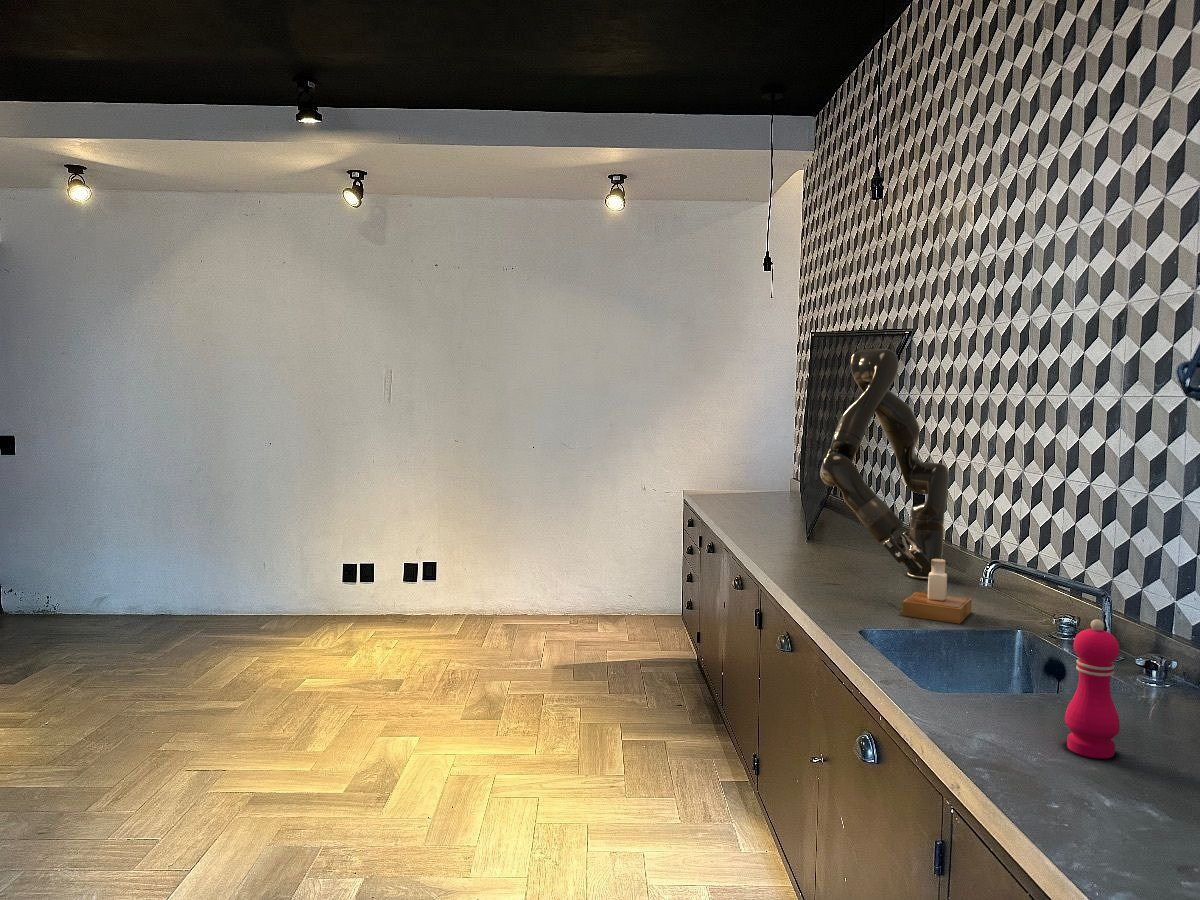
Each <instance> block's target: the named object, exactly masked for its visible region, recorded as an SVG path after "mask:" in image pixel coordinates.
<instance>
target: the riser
mask: <svg viewBox="0 0 1200 900" xmlns="http://www.w3.org/2000/svg"><path fill="white" fill-rule="evenodd" d="M971 613H972V598H971V597H964V596H956V595H949V594H946V598H945V600H944V601H939V600H930V599H928V591H927V592H925V591H915V592H914V593H912V594H911V595H910V596H908V597H907V598H905V599H904V600H903V601H902V616H904V617H910V618H916V619H917V618H918V619H924V620H931V621H937V622H944V623H950V624H958V625H960V624H962V622H963V621H964V620H965V619H966V618H968V616H969V615H970V614H971Z"/></svg>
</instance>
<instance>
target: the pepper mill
mask: <svg viewBox="0 0 1200 900" xmlns="http://www.w3.org/2000/svg"><path fill="white" fill-rule="evenodd" d="M1104 629H1105V623H1104V622H1103V621H1102V620H1101V619H1098V618H1096V619H1093V620H1091V622H1090V628H1087V629H1083V630H1081V631H1080V632H1078V633H1077V634H1076V636H1075V638H1074V640H1073V650H1074V653H1075V654H1076V656H1077V657H1078V659H1076V666H1075V669H1076V670H1077V671H1078V683H1077V687H1076V690H1075V693H1074V695H1073V697H1072V698H1071V700H1070V702H1069V703H1068V705H1067V707H1066V710H1065V716H1064V722H1065V725H1066V727H1067V728H1068V729H1069V730H1070V733H1068V734H1067V738H1066V739H1067V740H1066V741H1067V742H1066V747H1067V748H1068V750H1069V751H1071V752H1072V753H1074V754H1077V755H1079V756H1083V757H1086V758H1090V759H1096V760H1097V759H1099V760H1100V759H1102V760H1104V759H1110V758H1113V757H1114V756H1115V753H1116V750H1115V749H1116V743H1115V741H1114V740H1113V738H1115V737H1116V736H1117V735H1118V734H1119V732H1120V729H1121V728H1120V717H1119V713H1118V710H1117V709H1116V706H1115V703H1114V700H1113V698H1112V693H1111V677H1112V676H1113V675H1115V671H1114V670H1115V667H1116V665H1115V664H1114V663H1113V662H1115V660H1117V659H1118V658H1119V655H1120V644H1119V642H1118V640H1117V637H1115V635H1113V634H1112V633H1110V632H1109V631H1106V630H1104Z"/></svg>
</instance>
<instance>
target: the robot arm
mask: <svg viewBox="0 0 1200 900" xmlns="http://www.w3.org/2000/svg"><path fill="white" fill-rule="evenodd" d="M850 370H851V374H852V377H853V379H854V381H855V383H856V384H857V386H858V388H859V389H860V391H861V392H862V394H861V396H859V397H858V399H856V400H855V402H853V403H852V404H850V406H849V407H848V408H847V409H846V410H845V411H844V413H843V414H842V416H841V417H840V419H839V422H838V423H837V426H836V429H835V431H834V434H833V436H832V440H831V445H830V447H829V449H828V450H827V451H828V452H827V454H826V456H825V457H824V459H823V461H822V462H821V463H822V464H821V467H820V471H819V476H820V479H821V481H822V482H823V483H824V485H827V486H828V487H832V488H833V487H834V488H835V487H837V489H839V491H840V492H841V494H842V499H843V501H844V503H846V505H847V506H848V507H849V508H850V509H851V511H852V512H853V513H854V514H855V515H856V517H857V518H858V520H859V522H861V524H862V525H863V526H864V527H865V528H866V530H867V531H868V532H869V533H870V535H872V536H873V538H874V539H875V540H876V541H877V542H878V543H883V544H882V545H883V547H885V549H886V550H887V551H888V552H889V554H890V555H891V556H892V558H894V560H895V561H896V562H897V563H898V564H902V565H905V567H906V568H907V575H906V576H908V577H909V578H913V579H918V580H926V581H928V577H929V573H930V572H931V569H932V568H931V560H932V559H943V553H944V552H943V551H944V533H945V530H944V529H945V513H946V511H947V505H948V492H949V485H950V484H949V483H950V475H949V470H948V467H947V466H946V465H945V464H943V463H941V462H940V463H939V462H930V461H929V462H928V461H927V462H926V461H922V460H920V459H919V457H918V455H917V453H916V446H917V444H918V441H919V438H920V434H921V429H920V425H919V422H918V420H917V418H916V416H915V413H914V412H913V410H912V409H911V407H910V406H909V404H907V403H906V401H904V400H903V399H902V398H900V397H899V396H897V395H896V394H895V393H894V392H892V390H890V388H891V386H892V384H893V383H894V381H895V380H896V377H897V374H898V370H899V358H898V355H897V354H896V352H895V351H894V350H892V349H890V348H889V349H888V348H871V349H870V348H869V349H860V350H857V351H855V352H854V353H853V354H852V356H851V359H850ZM874 414H875V416H876V418H877V420H878V422H879V424H880V428H881V429H882V431H883V433H884V436H885V437H886V439H887V441H888V442H889V444H890V446H891V449H892V451H893V454H894V456H895V458H896V460H897V463H898V466H899V469H900V471H901V474H902V477H903V480H904V483H905V485H906V487H907V489H908V490H909V491H910V492H912V493H914V494H920V495H927V497H926V500H925V501H924V502H923V503H921V504H917V505H914V506H912V507H911V508H910V511H909V532H908V531H906V530H905V531H904V532H902V531H901V530H900V529H901V528H902V527H903V526H904V525H903V524H904V523H903V521H902V520H901V519H900V518H899V517H898V516H897V515H896V514H895V512H894V511H893V510H892V509H891V508H890V507H889V505H887V503H886V502H885V501H884V500H882V499H881V498H880V497H879V496H878V495H877V494H876V493H875V491H874V490H872V487H870V486H869V485H868V484H867V482H865V480H864V478H863V476H862V475H861V473H860V471H859V469H858V468H857V467H856V466H855V464H854V462H853V461H854V459H855V455H856V453H857V452H858V450H859V448H860V446H861V444H862V441H863V438H864V436H865V433H866V431H867V428H868V426H869V424H870V422H871V419H872V418H873V416H874Z"/></svg>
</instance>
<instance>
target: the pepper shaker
mask: <svg viewBox="0 0 1200 900" xmlns="http://www.w3.org/2000/svg"><path fill="white" fill-rule="evenodd" d="M946 564H947V563H946V560H945V559H943V558H942V559H932V560H931V568H932V569H931V572H930V573H929V577H928V580H927V593H928V599H930V600H939V601H944V600H945V598H946V595H947V593H948V592H947V591H948V574H947V573H946Z"/></svg>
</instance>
